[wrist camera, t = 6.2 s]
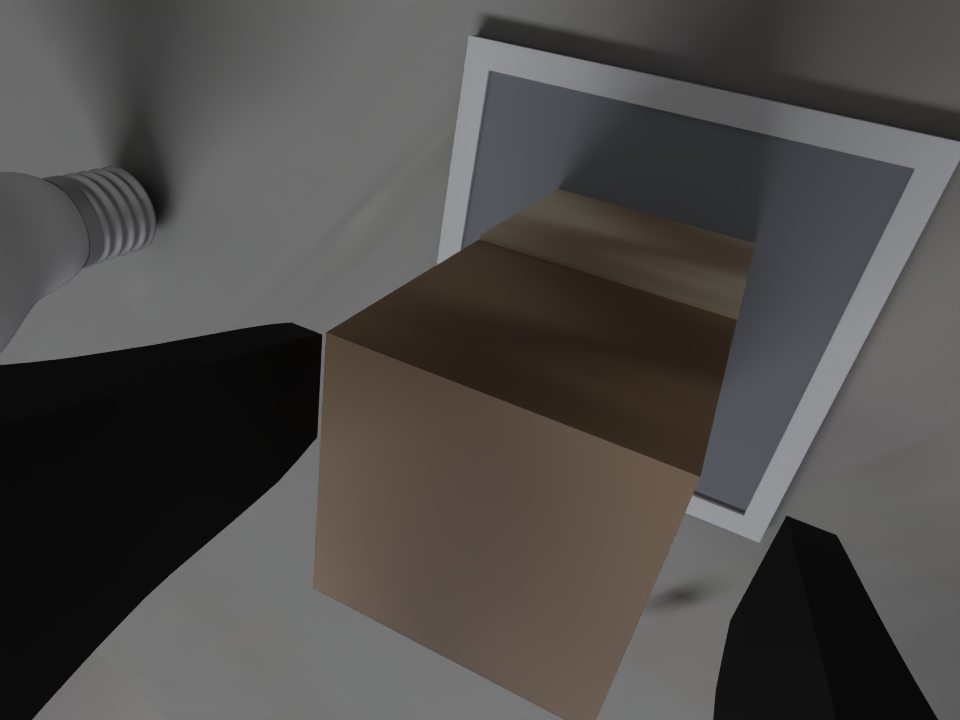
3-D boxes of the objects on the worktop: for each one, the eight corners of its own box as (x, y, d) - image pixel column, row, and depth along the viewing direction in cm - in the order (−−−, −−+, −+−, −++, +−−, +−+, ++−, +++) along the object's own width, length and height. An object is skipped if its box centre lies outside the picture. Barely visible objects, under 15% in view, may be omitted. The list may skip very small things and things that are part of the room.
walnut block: (736, 319, 10) (699, 476, 7) (653, 528, 12) (590, 733, 9) (479, 239, 11) (326, 332, 8) (444, 441, 14) (312, 588, 10)
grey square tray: (963, 141, 12) (968, 143, 12) (759, 532, 17) (759, 542, 17) (476, 35, 15) (468, 35, 14) (423, 398, 20) (417, 404, 19)
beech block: (755, 243, 14) (738, 315, 10) (687, 414, 16) (653, 525, 12) (558, 188, 15) (479, 235, 11) (520, 354, 17) (444, 438, 14)
